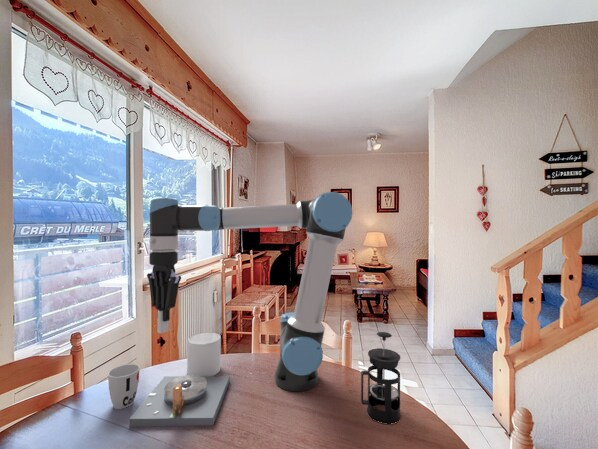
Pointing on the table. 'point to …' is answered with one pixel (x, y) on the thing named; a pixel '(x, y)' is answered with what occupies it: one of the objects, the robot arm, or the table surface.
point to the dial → (184, 391)
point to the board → (192, 414)
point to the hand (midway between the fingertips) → (163, 331)
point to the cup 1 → (123, 385)
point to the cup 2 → (204, 354)
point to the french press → (382, 384)
